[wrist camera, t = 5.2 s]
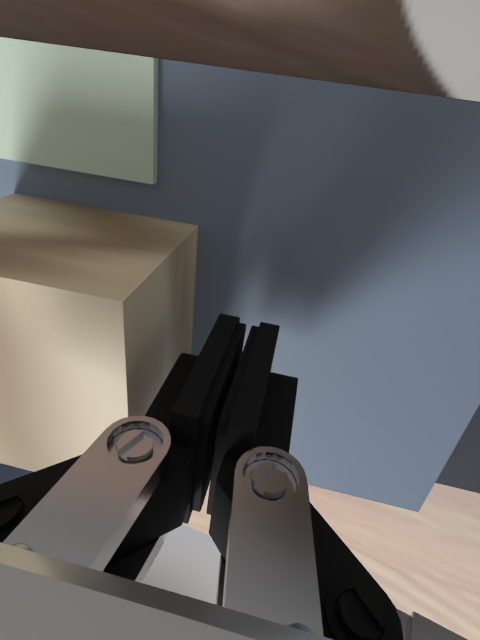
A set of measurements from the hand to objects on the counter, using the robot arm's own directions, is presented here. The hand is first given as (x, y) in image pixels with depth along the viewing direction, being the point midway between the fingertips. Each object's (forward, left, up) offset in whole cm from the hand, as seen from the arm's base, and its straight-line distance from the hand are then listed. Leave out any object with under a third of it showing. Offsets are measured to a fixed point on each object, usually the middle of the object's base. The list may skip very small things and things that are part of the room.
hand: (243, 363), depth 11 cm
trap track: (+1, 0, -4) cm, 4 cm away
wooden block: (+5, 0, -2) cm, 6 cm away
